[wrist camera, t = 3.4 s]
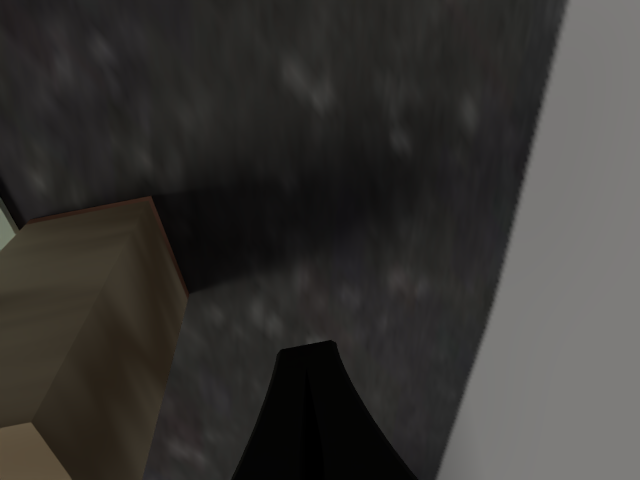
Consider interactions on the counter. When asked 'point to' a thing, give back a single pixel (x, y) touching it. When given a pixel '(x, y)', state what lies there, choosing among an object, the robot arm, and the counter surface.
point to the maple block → (86, 342)
